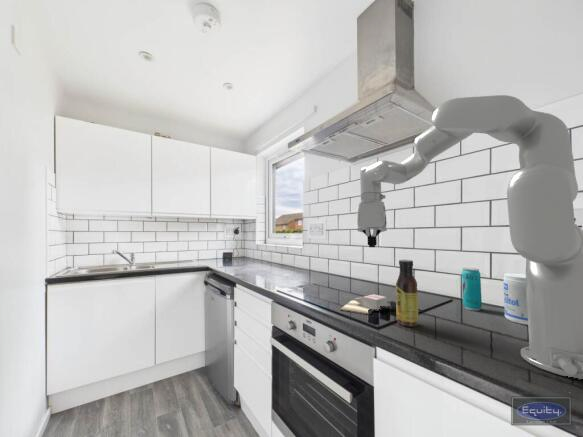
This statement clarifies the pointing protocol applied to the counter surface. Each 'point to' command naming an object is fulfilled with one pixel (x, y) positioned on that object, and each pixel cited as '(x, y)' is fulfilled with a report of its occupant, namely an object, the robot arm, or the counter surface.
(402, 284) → the sauce bottle
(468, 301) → the beverage can
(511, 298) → the supplement tub
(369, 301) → the tea bag
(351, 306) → the cream folded towel
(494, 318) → the counter surface
